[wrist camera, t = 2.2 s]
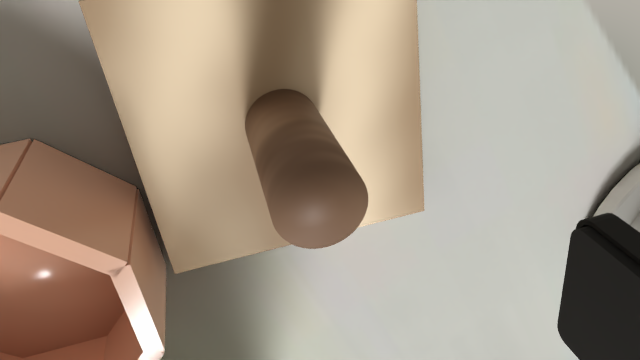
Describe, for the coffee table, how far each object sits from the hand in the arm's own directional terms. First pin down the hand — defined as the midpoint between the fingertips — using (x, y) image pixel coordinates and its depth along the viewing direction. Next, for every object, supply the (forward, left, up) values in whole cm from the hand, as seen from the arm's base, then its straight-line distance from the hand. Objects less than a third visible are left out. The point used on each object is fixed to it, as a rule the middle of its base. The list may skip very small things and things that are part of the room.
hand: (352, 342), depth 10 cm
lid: (-1, 0, -12) cm, 12 cm away
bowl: (+10, +4, -13) cm, 17 cm away
